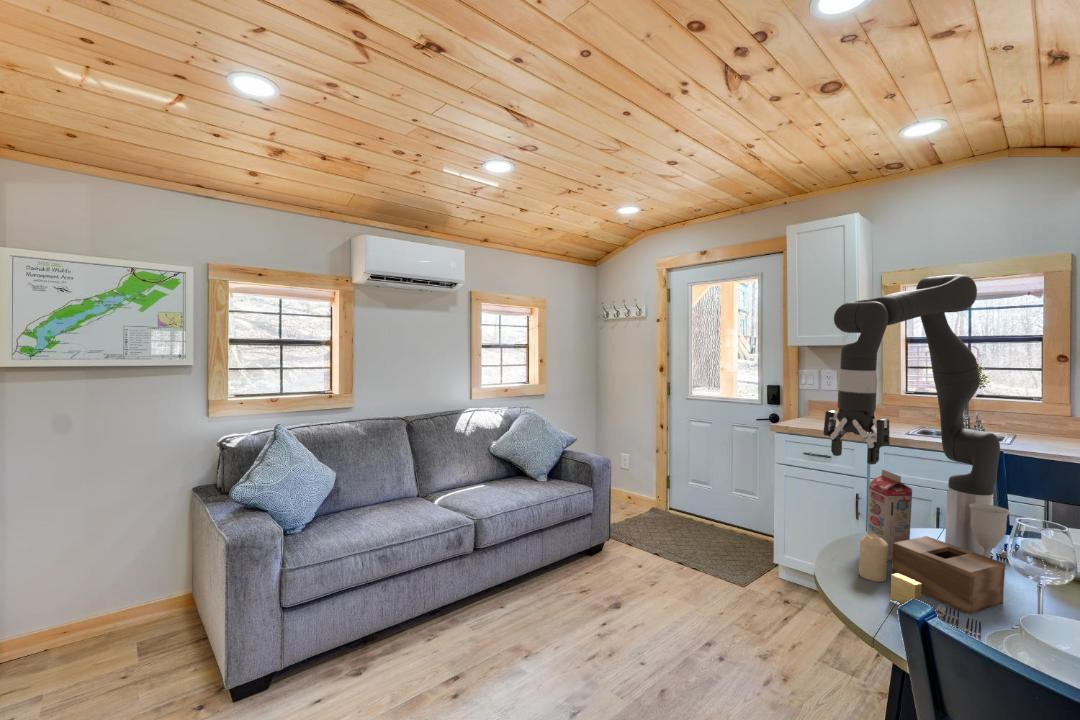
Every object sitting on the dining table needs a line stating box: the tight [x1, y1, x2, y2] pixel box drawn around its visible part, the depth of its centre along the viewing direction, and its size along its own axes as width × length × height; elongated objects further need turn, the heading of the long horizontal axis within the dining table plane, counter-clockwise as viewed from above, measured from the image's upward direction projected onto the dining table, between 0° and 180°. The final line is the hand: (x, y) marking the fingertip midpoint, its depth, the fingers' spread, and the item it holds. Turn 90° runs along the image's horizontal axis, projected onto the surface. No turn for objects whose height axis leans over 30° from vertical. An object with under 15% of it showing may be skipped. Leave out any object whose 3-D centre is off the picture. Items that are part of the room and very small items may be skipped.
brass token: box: [889, 573, 922, 606], centre depth 111 cm, size 2×5×6 cm, turn 22°
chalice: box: [969, 504, 1011, 559], centre depth 121 cm, size 7×7×18 cm
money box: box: [891, 535, 1006, 615], centre depth 117 cm, size 12×16×9 cm
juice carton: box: [866, 469, 913, 560], centre depth 136 cm, size 7×7×22 cm
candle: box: [858, 533, 888, 583], centre depth 124 cm, size 6×6×10 cm
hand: (853, 459), depth 119 cm, fingers open, 8 cm apart
